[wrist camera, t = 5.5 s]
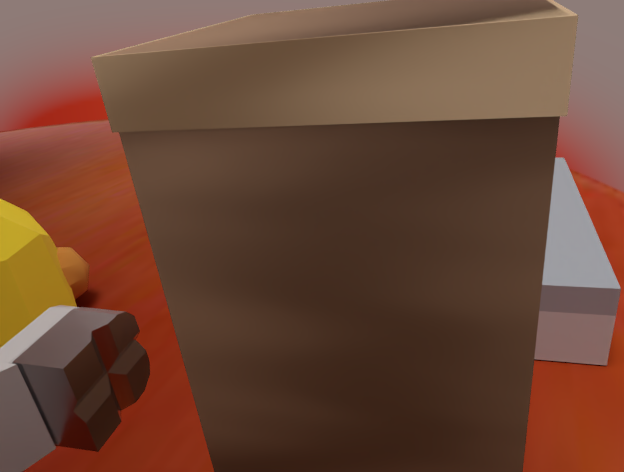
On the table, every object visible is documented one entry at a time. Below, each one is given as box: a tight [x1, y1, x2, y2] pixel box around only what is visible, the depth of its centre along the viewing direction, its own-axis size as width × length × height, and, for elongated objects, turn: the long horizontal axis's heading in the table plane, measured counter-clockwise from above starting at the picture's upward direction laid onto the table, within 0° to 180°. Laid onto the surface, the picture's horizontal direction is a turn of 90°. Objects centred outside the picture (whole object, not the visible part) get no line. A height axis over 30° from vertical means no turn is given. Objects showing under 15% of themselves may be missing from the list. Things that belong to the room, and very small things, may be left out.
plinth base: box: [534, 158, 621, 366], centre depth 23 cm, size 12×12×3 cm
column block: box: [91, 0, 578, 472], centre depth 9 cm, size 5×5×12 cm
